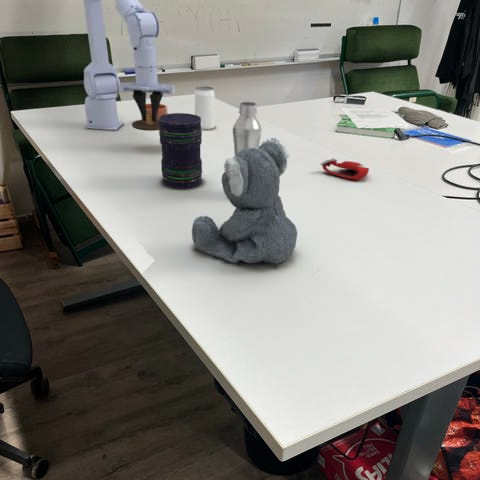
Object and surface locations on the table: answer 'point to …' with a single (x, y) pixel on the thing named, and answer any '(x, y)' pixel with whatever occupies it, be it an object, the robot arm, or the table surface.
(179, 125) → the storage jar
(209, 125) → the can
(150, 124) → the wooden lid with knob
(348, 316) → the table surface
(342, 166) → the tracker holder
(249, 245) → the koala plush
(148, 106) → the cup
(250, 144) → the silver metal bottle
